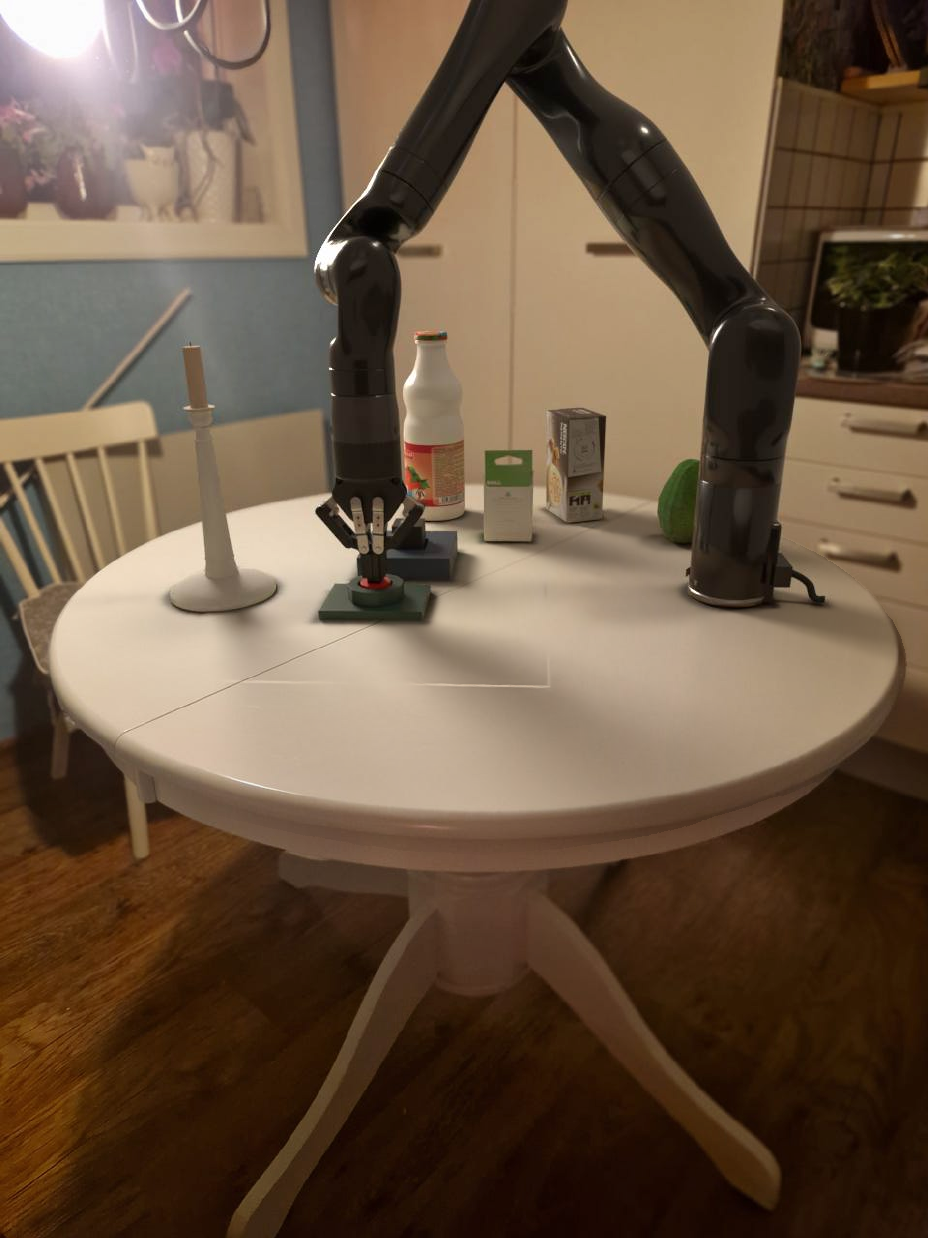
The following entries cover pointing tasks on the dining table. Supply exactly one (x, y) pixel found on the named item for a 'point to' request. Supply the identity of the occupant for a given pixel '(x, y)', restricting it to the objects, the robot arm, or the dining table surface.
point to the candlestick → (213, 519)
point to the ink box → (508, 496)
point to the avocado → (679, 502)
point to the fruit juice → (434, 431)
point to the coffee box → (575, 464)
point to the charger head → (412, 535)
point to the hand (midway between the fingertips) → (374, 581)
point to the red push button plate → (376, 601)
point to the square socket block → (423, 558)
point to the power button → (375, 584)
